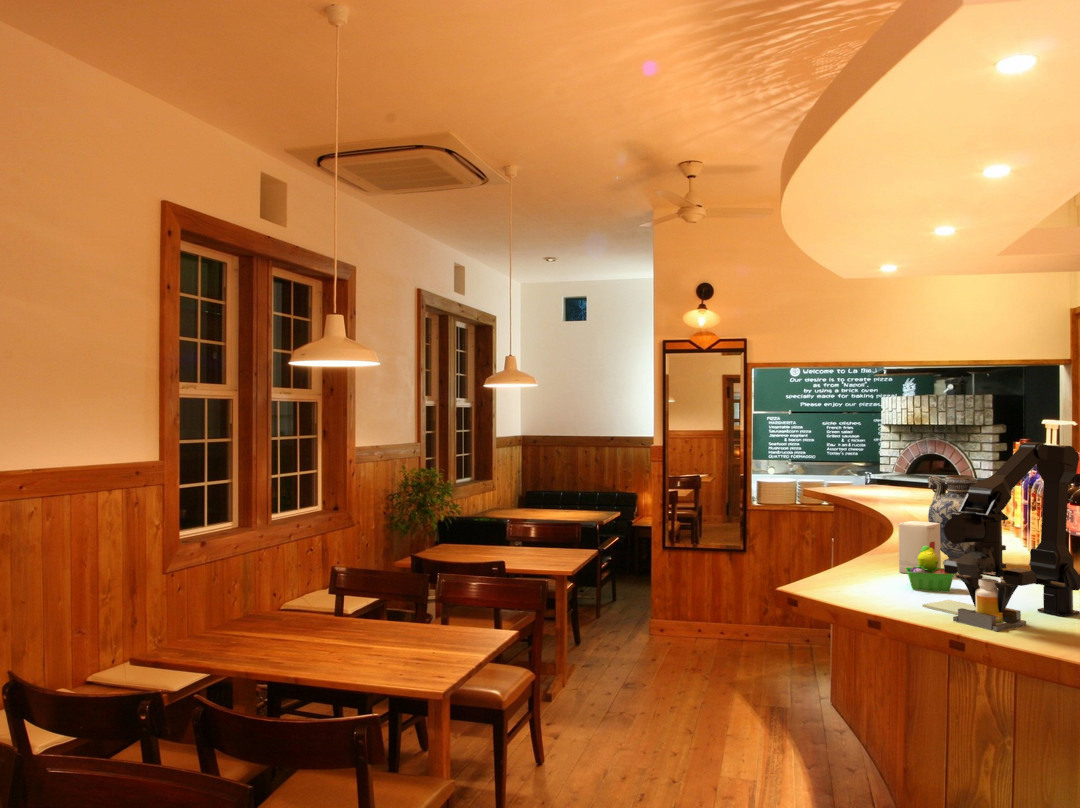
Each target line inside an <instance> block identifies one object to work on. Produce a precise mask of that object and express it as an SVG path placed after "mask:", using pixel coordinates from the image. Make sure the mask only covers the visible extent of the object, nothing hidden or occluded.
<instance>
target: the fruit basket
mask: <svg viewBox="0 0 1080 808" xmlns="http://www.w3.org/2000/svg"><path fill="white" fill-rule="evenodd" d="M920 552H921V553H920V554H919V555H918V558H917V561H918V564H919V566H916V567H913V568H906V571H907V573H908V574H907V573H906V574H907V576H908V579H909V582H910V586H911V589H912V590H913V591H925V592H943V593H944V592H945V593H949V592H950V591H951V588H952V587H951V586H952V583H953V579H954V577H955V574H951V573H946V572H944V567H941V568H938V567H937V565H938V563H939V558H938V556H937V555H936V553H935V551H934V549H932V548H930V547H929V546H923V547H922V548H921V551H920Z"/></svg>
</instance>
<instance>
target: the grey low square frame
mask: <svg viewBox="0 0 1080 808" xmlns="http://www.w3.org/2000/svg"><path fill="white" fill-rule="evenodd" d="M1021 618H1022V613H1021V610H1020V609H1019V610H1018V609H1015V608H1014V609H1013V608H1008V607H1006V608H1005V610H1004V612H1003V624H1000V625H996V616H995V615H990V614H986V613H981V612H977V611H972V610H968V609H963V608H961V609H958V615H955V616H953V617H952V620H953V622H955V623H960V624H964V625H969V626H972V627H977V628H981V629H983V630H984V629H985V630H989V631H993V632H1001V631H1005V630H1012V629H1015V628H1016V627H1017V628H1020V627H1021V628H1022V627H1026V626H1027V620H1024V619H1021Z"/></svg>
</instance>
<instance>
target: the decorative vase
mask: <svg viewBox="0 0 1080 808" xmlns="http://www.w3.org/2000/svg"><path fill="white" fill-rule="evenodd" d="M977 482H978V480H977V479H975V477H974V475H967V474H963V475H962V474H949V475H946V476H945V478H944V479H942V478H940V477H939V476H938V475H932V476H928V478H927V484H928V489H931V490H932V492H934V494H933V496H932V501H931V504H930V505H929V508H928V515H927V519H928V521H927V522H932V523H940V552H941V553H943V554H944V555H945V556H946V557H947V558H946V559H945V560H943V561H942V564H943V565H944V564H945V562H946V561H947V560H952V559H959V558H961V557H962V556H963V555H965V554H968V553H969V547H970V545H972V544H974V543H973V542H970V543H959V544H954V543H952V542H950V541H949V540H948V539H947V537H946V536H945V533H944V527H945V524H946V522H947V521H948V520H949V519H951V518H952V513H958V511H959V509H960V507H961V505H962V503H963V501H964V499H965V497H966V495H967V492H968V490H969V488H970V487H971V486H972V485H974V484H975V483H977Z"/></svg>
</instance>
